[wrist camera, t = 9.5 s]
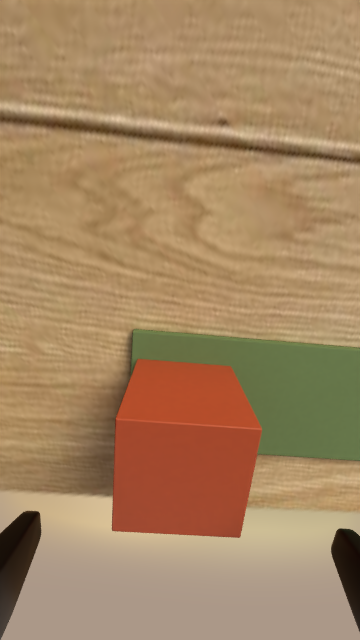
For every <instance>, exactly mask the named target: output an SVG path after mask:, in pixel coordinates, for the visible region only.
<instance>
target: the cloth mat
mask: <svg viewBox="0 0 360 640" xmlns="http://www.w3.org/2000/svg"><path fill="white" fill-rule="evenodd" d="M138 359H147V360H160V361H172V362H185V363H198V364H210V365H223V366H231V367H232V369H233V371H234V373H235V375H236V377H237V379H238V381H239V383H240V385H241V387H242V389H243V391H244V393H245V395H246V397H247V399H248V401H249V403H250V405H251V407H252V409H253V411H254V413H255V415H256V418H257V420H258V422H259V424H260V426H261V428H262V433H261V438H260V443H259V448H258V453H257V454H264V455H279V456H294V457H310V458H325V459H340V460H355V461H360V348H356V347H344V346H332V345H320V344H308V343H296V342H285V341H273V340H261V339H249V338H237V337H225V336H213V335H201V334H189V333H177V332H165V331H153V330H141V329H134V331H133V336H132V358H131V376H132V373H133V370H134V368H135V365H136V362H137V360H138Z"/></svg>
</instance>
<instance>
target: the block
mask: <svg viewBox="0 0 360 640" xmlns="http://www.w3.org/2000/svg"><path fill="white" fill-rule="evenodd" d="M261 433H262V428H261V426H260V424H259V422H258V420H257V418H256V415H255V413H254V411H253V409H252V407H251V405H250V403H249V401H248V399H247V397H246V395H245V393H244V391H243V389H242V387H241V385H240V383H239V381H238V379H237V377H236V375H235V373H234V371H233V369H232V367H231V366H223V365H210V364H198V363H185V362H172V361H160V360H147V359H138V360H137V362H136V365H135V368H134V370H133V373H132V376H131V378H130V381H129V384H128V386H127V389H126V392H125V395H124V397H123V400H122V403H121V405H120V408H119V411H118V413H117V416H116V419H115V447H114V480H113V513H112V531H121V532H141V533H161V534H179V535H199V536H218V537H237V538H239V537H240V536H241V531H242V525H243V520H244V516H245V511H246V506H247V501H248V497H249V492H250V487H251V482H252V477H253V472H254V467H255V462H256V457H257V453H258V448H259V443H260V438H261Z"/></svg>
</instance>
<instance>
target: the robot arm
mask: <svg viewBox="0 0 360 640" xmlns="http://www.w3.org/2000/svg"><path fill="white" fill-rule="evenodd" d="M40 536H41V523H40V513H39V512H37V511H26V512H23V513H22V514H21V515H20V516H19V517H17V518H16V519H15V520H14V521H13V522H12V523H11V524H10V525H9V526H8V527H7V528H6V529H5V530H3V532H1V533H0V639H1V637H2V635H3V633H4V631H5V629H6V626H7V624H8V622H9V620H10V617H11V615H12V612H13V610H14V607H15V605H16V602H17V599H18V597H19V594H20V591H21V589H22V586H23V583H24V581H25V578H26V575H27V573H28V570H29V567H30V565H31V562H32V559H33V557H34V554H35V551H36V549H37V546H38V543H39V540H40ZM331 553H332V557H333V560H334V563H335V566H336V568H337V571H338V574H339V577H340V580H341V582H342V585H343V588H344V591H345V593H346V596H347V599H348V602H349V604H350V607H351V610H352V613H353V616H354V618H355V621H356V623H357V626H358V629H359V631H360V536H359V535H358V534H357V533H356V532H354V531H353V530H350V529H338V530H337V531H336V534H335V537H334V540H333V544H332V547H331Z"/></svg>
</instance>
